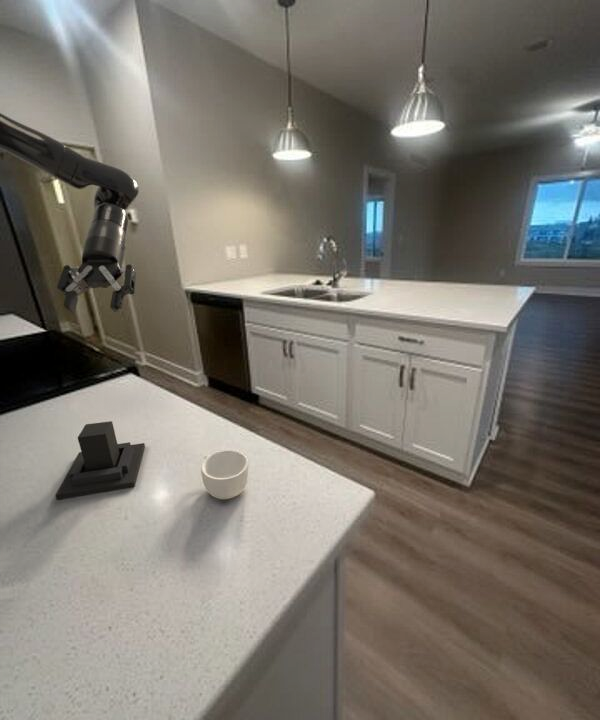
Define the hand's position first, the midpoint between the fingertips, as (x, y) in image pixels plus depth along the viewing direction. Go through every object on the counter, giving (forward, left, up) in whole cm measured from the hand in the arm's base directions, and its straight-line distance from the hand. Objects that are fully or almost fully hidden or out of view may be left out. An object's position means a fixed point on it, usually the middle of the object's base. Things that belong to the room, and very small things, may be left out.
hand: (92, 310), depth 69 cm
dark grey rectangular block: (+1, -17, -26) cm, 31 cm away
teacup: (+22, -27, -27) cm, 44 cm away
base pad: (+1, -17, -27) cm, 31 cm away
